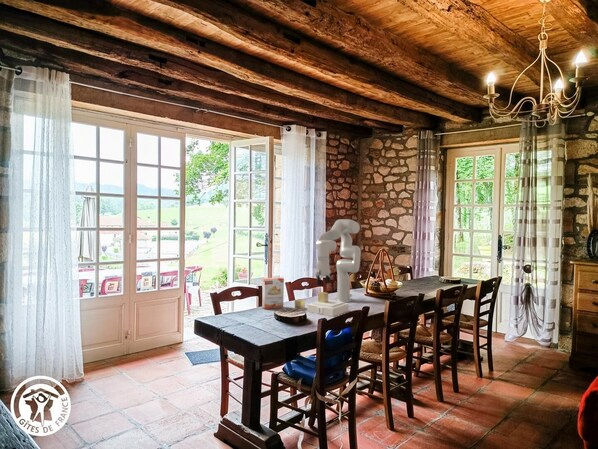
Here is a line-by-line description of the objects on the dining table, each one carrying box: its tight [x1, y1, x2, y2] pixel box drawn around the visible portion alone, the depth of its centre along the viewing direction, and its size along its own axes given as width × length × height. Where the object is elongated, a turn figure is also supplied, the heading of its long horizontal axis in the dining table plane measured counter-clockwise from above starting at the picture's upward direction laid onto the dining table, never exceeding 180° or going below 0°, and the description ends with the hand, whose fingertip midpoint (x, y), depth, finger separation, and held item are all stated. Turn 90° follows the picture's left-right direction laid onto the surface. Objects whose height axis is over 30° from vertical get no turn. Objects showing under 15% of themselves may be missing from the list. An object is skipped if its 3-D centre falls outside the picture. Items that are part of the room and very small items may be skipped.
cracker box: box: [261, 276, 285, 310], centre depth 285 cm, size 14×6×21 cm, turn 112°
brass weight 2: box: [317, 291, 329, 303], centre depth 278 cm, size 5×5×6 cm
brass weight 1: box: [294, 298, 306, 310], centre depth 284 cm, size 5×5×6 cm
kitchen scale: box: [306, 299, 350, 317], centre depth 276 cm, size 21×20×6 cm
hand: (323, 284), depth 278 cm, fingers open, 9 cm apart
